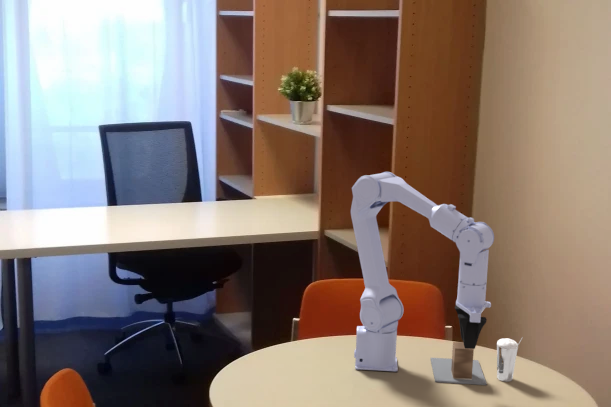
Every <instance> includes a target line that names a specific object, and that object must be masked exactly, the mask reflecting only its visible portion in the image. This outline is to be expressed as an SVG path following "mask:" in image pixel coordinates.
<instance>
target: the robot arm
mask: <svg viewBox="0 0 611 407" xmlns="http://www.w3.org/2000/svg"><path fill="white" fill-rule="evenodd" d="M351 192H352V201H351V207H350V217H351V222H352V227H353V233H354V237H355V242H356V248H357V252H358V257H359V263H360V268H361V273H362V277H363V283H364V284H363V285H364V287H365V288H364V291H363V292H362V295H361V297H360V299H359V301H360V310H359V311H360V312H359V319H360V322H361V324H362V325H357V326H356V338H355V339H356V340H355V341H356V344H355V349H354V351H353V352H354V353H353V357H354V358H355V362H354V363H355V366H354V369H355V370H362V371H363V370H364V371H365V370H366V371H379V372H381V371H382V372H398V369H399V368H398V360H397V358H398V357H397V337H398V336H397V335H398V326H399V321H400V320H401V318H402V317H403V314H404V312H405V311H404V310H405V309H404V305H403V303H402V300H401V299H400V298H399V294H398V292H397V289H396V288H395V287H394V286H393V285H391V284H390V281H389V277H388V271H387V266H386V261H385V256H384V251H383V247H382V241H381V235H380V230H379V225H378V221H377V215H378V213H379V212H380V211H381V209H382V208H383V207H384V206H385V205H386V204H387V203H389V202H398V203H401V204H402V205H404V206H406V207H408V208H410V209H411V210H412V211H414V212H417V214H420V215H422V216H423V217H426V218H427V219H428V221H429V225H430V228H433V229H434V230H435V231H437V232H439V233H441V235H444V236H445V237H446V238H447V239H449V240H451V241H452V242H453V243H455V245H456V247H457V249H458V251H459V264H458V265H459V267H458V281H457V282H458V283H457V297H456V300H455V306H454V309H455V312H456V313H457V318H458V322H459V328H460V329H459V330H460V337H461V342H464V347H465V348H467V349H474V350H475V349H476V347H477V344H478V340H479V337H480V334H481V331H482V329H483V327H484V326H485V325H486V323H487V317H485V316H482V313H483V311H485V309H486V308H491V307H492V303H491V301H486V297H487V294H486V293H487V282H488V281H487V280H488V266H489V256H490V255H489V254H490V253H489V251H490V250H489V248H491V246H492V245H493V244H494V241H495V234H494V231H493V229H492V227H490V226H489V224H488V223H486V222H484V221H477V222H475V218H474V217H468V216H466V215H464V214H463V213H461V212H460V211H459V210H457V209H456V208H457V206H456V205H454V204H451V203H450V204H447V203H442V204H437V203H435V202H434V201H433V200H431V199H429V198H427V197H426V195H424V194H422V193H421V192H419V191H418V190H416V188H414V187H412V186H411V185H409V183H407V182H406V181H405V180H404V179H403V178H402V177H400V176H397V175H396V174H394V173H393V172H390V171H383V172H381V173H375V174H374V173H373V174H370V175H367V174H365V175H362V176H360V177H359V178H358V179H357V180H356V182H355V183H354V184H353V185H352V187H351Z"/></svg>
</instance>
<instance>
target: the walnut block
mask: <svg viewBox="0 0 611 407" xmlns="http://www.w3.org/2000/svg"><path fill="white" fill-rule="evenodd" d="M474 350H475V349H467V348H465V347H464V342H463V341H453V342H452V353H451V359H452V367H451V372H452V376H453V379H468V380H472V367H473V360H474V352H475V351H474Z"/></svg>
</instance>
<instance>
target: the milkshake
mask: <svg viewBox="0 0 611 407" xmlns="http://www.w3.org/2000/svg"><path fill="white" fill-rule="evenodd" d="M522 340H523V336H522V337H521V338H520V340H519V342H518V343H517V341H516V340H514V339H511V338H510V337H509V338H500V339H498V340H497V341H496V379H498V381H501V382H506V383H508V382H512V381H513V379H514V373H515V366H516V362H517V361H516V359H517V353H518V349H519V345H520V343H521V341H522Z"/></svg>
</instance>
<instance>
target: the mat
mask: <svg viewBox="0 0 611 407" xmlns="http://www.w3.org/2000/svg"><path fill="white" fill-rule="evenodd" d="M430 364H431V368H432V372H433V373H432V374H433V378H434V383H443V384H462V385H463V384H464V385H477V386H487V384H488V383H487V381H486V378H485V375H484V373H483V370H482V367H481V364H480V361H479V360H477V359H473V367H472V380H468V379H453V376H452V372H451V367H452V358H447V357H446V358H443V357H430Z"/></svg>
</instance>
